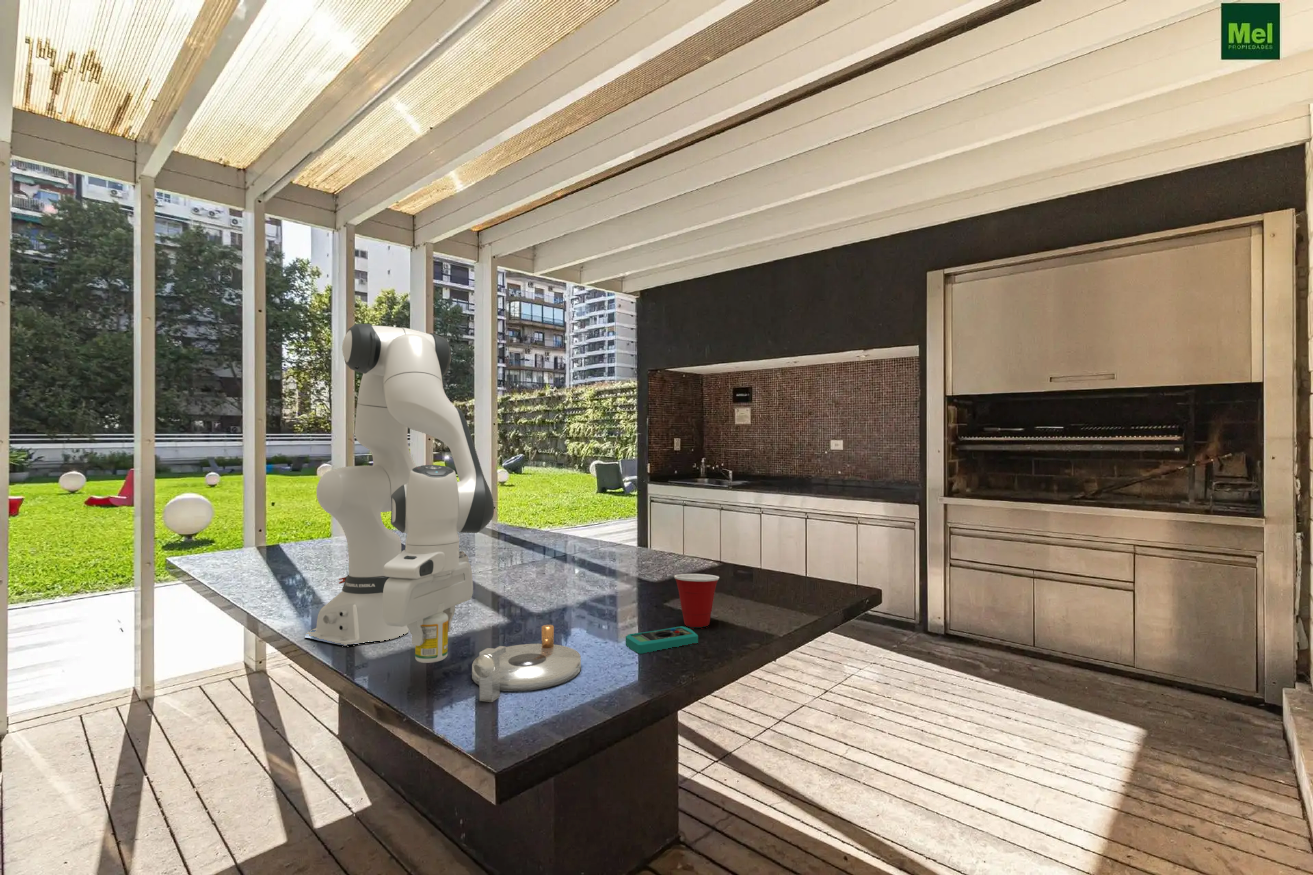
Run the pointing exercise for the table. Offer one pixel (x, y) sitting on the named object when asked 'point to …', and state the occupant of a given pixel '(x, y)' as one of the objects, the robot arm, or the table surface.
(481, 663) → the stand
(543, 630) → the turntable
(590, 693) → the table surface
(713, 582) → the plastic cup
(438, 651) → the supplement bottle
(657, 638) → the digital multimeter
